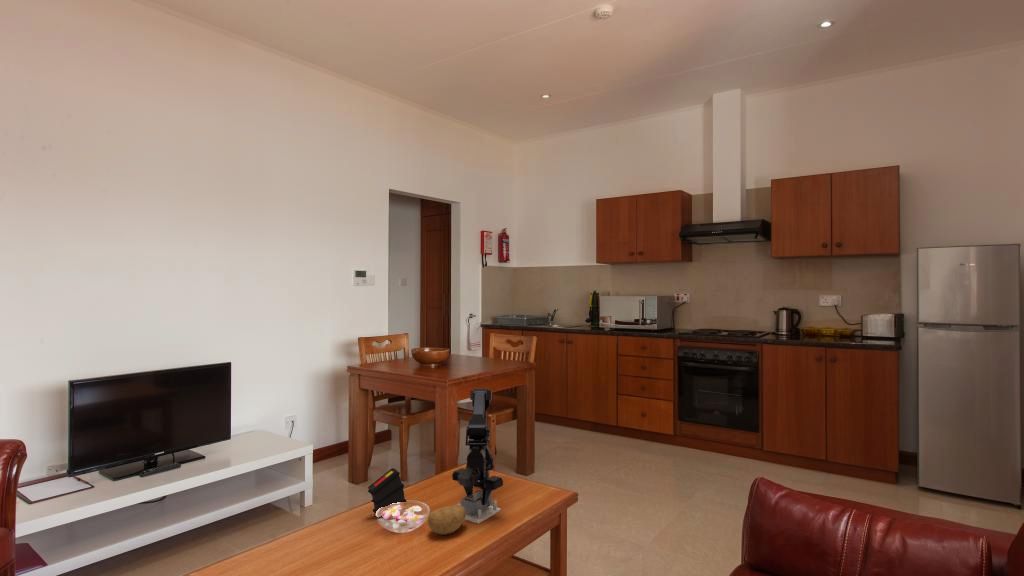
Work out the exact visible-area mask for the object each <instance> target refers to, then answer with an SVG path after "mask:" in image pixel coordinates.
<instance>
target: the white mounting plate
mask: <svg viewBox="0 0 1024 576" xmlns="http://www.w3.org/2000/svg"><path fill="white" fill-rule="evenodd" d="M456 505H461V503H460V502H458V503H457V504H456ZM498 512H501V508H500V507H498V506H497V500H495V499H494V500H492V505H491V506H489V507H487V508H485V509H484V510H482V511H481V509H478V513H477V514H472V513H468V512H466V516H465V519H464V521H469V522H471V523H476V524H480V523H482V522H484V521H485V520H487V519H489V518H490V517H492V516H494V515H495V514H497V513H498Z"/></svg>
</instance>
